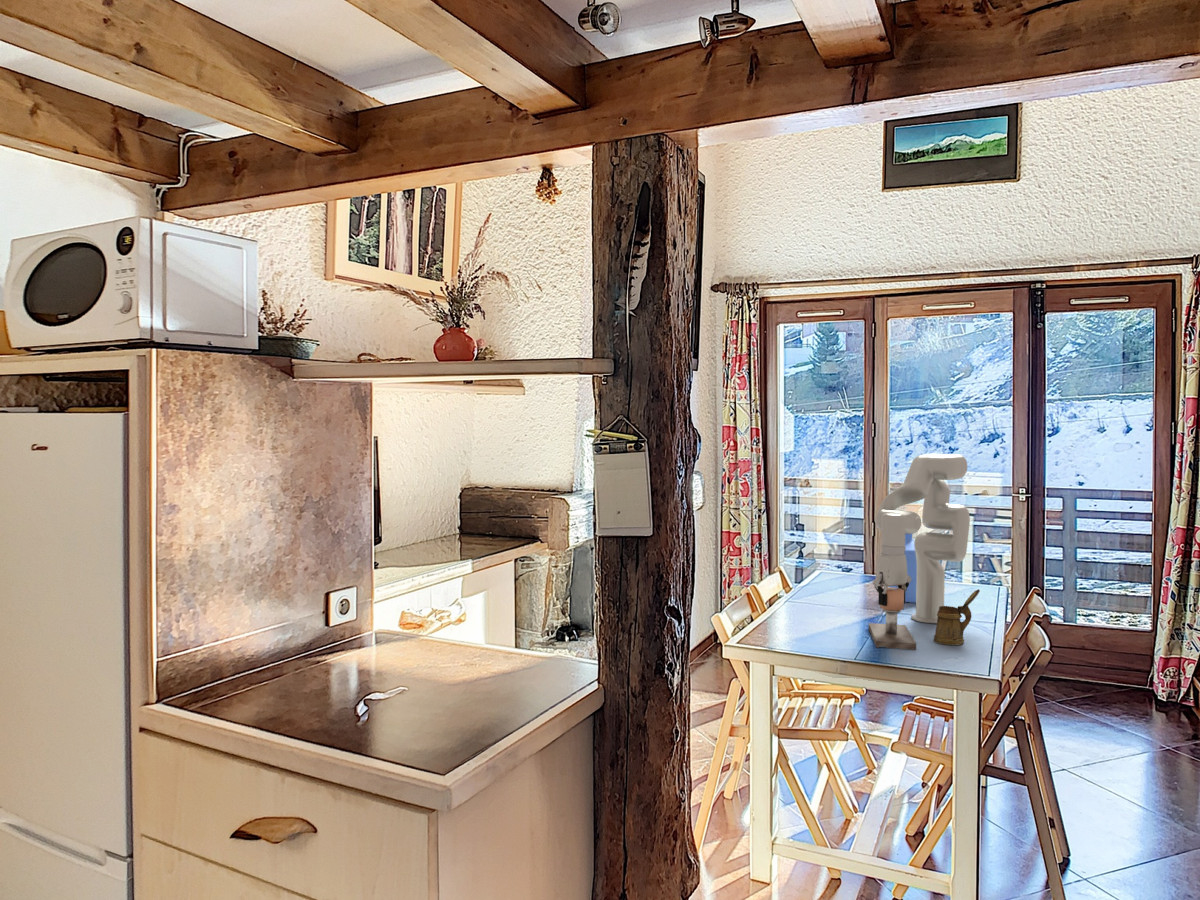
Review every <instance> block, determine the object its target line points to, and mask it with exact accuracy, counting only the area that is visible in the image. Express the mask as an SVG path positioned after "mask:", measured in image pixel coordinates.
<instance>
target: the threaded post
mask: <svg viewBox="0 0 1200 900" xmlns="http://www.w3.org/2000/svg"><path fill="white" fill-rule="evenodd" d="M901 611H902V610H886V609H882V612H885V624H886V633H888V634H897V625H898V614H899V613H901Z"/></svg>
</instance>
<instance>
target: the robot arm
mask: <svg viewBox="0 0 1200 900" xmlns="http://www.w3.org/2000/svg"><path fill="white" fill-rule="evenodd" d="M967 472H968V462H967V458H966V457H965V456H964V455H961V454H950V453H949V454H945V453H943V454H942V453H923V454H921V455H917V456H915V457H914V458H913V459H912V462H911V464H910V466H909V469H908V472H907V474H906V476H905V479H904V481H903V484H902V485H901V486H899V487H898V488H896V489H895V490H893V491H891V492H890V493H889V494H888V495H886V496H885V497H884V498H883V499H882V501H881V503H880V505H879V508H878V510H877V513H876V516H875V525H876V527H877V529H878V530H879V531H880V554H879V555H878V557H877V561H876V562H877V563H876V569H875V570H876V571H875V578H874V579H873V580H872V584H873V586H874V589H875V590H876V592H877V593H878V602H877V603H878V605H879V606H880V605H882V606H887V594H885V593H886V591H887V589H888V587H889V586H896V585H897V588H899V589H903V590H904V605H905V604H906V602H905V591H907V587H908V586H909V583H910V581H911V577H910V576H909V575H908V574H907V561H906V555H905V549H906V548H905V534H912V535H913V534H915V533H917V532H919V530H920V529H921V527H922V525H923V526H924V528H925V527H926V528H927V529H930V530H931V529H932V530H938V531H939V530H940V531H951V532H952V534H951V533H950V534H949V533H941V532H931V531H929V532H928V531H927V532H926V531H925V532H921V533H918V534H917V535H916V537H915V538H914V540H913V541H914V547H915V554H916V563H917V578H916V603H915V612H914V613H911V614H910V616H911V617H910V618H911V619H912V620H913V621H916V622H919V623H926V624H937V619H938V616H937V613H938V611H939V607H940V606H945V589H946V588H945V582H946V580H945V579H946V572H945V569H944V567H943V565H942V564H941V562H940V561H946V562H955V563H958V562H962V561H963V560H965V558H966V554H967V549H968V542H969V532H970V520H971V517H970V512H969V510H968V508H967V507H966V506H965V505H962V504H952V503H950V495H951V490H950V488H949V485H948V484H947V483H946V481H954V480H960V479H962V478H963V477H965V475H966V473H967ZM921 500H923V505H922V506H923V507H922V515H919V514H918V513H917V512H913V511H910V510H909V511H908V510H899V509H898V508H900V507H902V506H906V505H908V504H909V505H910V504H912V503H916V502H920V501H921ZM897 509H898V510H897Z"/></svg>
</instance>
